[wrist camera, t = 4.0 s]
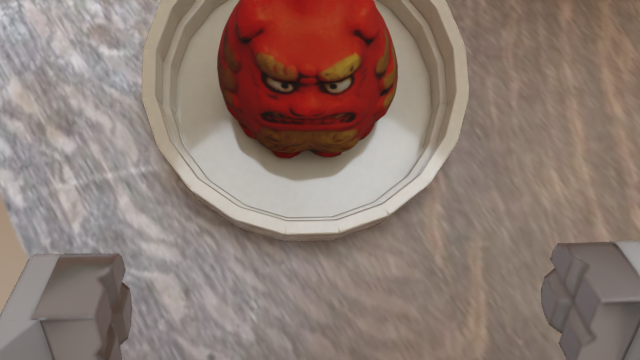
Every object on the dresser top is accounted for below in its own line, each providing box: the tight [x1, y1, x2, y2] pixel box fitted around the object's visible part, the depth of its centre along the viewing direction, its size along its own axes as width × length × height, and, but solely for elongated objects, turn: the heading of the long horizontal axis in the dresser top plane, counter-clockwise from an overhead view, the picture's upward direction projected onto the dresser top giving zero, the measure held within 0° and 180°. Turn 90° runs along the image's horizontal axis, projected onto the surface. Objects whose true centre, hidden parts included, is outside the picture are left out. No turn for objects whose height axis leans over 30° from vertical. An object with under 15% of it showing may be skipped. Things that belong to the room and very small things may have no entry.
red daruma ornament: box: [217, 0, 398, 159], centre depth 22 cm, size 8×7×15 cm
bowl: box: [142, 0, 469, 241], centre depth 28 cm, size 14×14×4 cm
